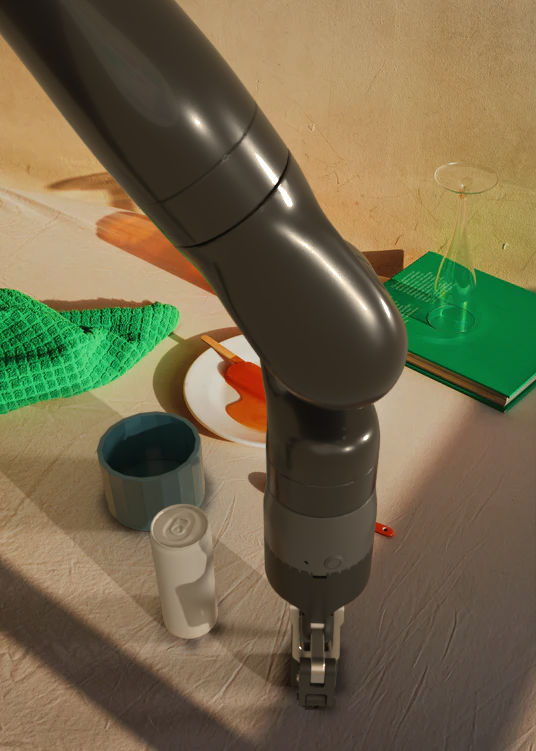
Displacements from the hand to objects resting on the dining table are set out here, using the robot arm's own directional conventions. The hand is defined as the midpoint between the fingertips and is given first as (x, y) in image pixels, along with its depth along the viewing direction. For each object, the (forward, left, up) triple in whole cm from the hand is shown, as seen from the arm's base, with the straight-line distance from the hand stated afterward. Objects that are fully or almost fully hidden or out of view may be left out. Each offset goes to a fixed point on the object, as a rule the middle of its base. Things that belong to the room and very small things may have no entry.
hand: (313, 663), depth 60 cm
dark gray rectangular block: (0, 0, -1) cm, 1 cm away
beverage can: (-5, +10, -1) cm, 12 cm away
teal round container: (0, +25, -1) cm, 25 cm away
